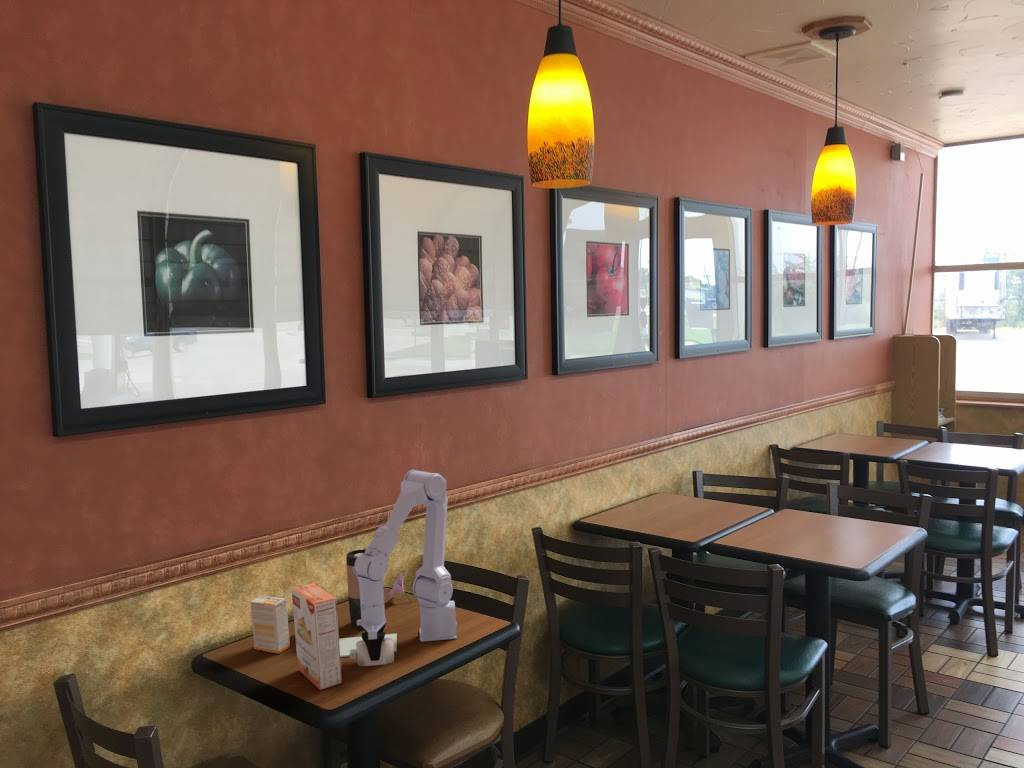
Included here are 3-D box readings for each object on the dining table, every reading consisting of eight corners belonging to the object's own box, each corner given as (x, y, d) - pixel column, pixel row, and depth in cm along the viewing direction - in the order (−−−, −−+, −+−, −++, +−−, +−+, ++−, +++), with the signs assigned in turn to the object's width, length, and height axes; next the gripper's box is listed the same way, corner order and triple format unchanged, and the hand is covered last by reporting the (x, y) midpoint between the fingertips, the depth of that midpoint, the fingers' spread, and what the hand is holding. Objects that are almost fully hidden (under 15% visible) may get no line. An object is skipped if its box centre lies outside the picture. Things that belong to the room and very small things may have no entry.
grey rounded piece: (394, 656, 206) (393, 637, 206) (394, 663, 202) (393, 643, 202) (351, 660, 205) (349, 641, 204) (350, 667, 201) (348, 647, 200)
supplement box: (291, 647, 215) (287, 598, 213) (278, 654, 210) (274, 604, 209) (266, 642, 218) (262, 594, 217) (253, 649, 214) (249, 600, 212)
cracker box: (296, 671, 200) (290, 587, 198) (319, 663, 204) (314, 581, 202) (318, 692, 189) (312, 603, 187) (343, 684, 192) (337, 597, 190)
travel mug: (384, 621, 229) (380, 551, 227) (365, 631, 223) (360, 559, 220) (363, 617, 233) (359, 547, 231) (344, 626, 227) (339, 555, 225)
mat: (396, 634, 220) (396, 633, 219) (396, 652, 209) (396, 650, 209) (335, 640, 218) (335, 638, 217) (331, 658, 207) (331, 656, 207)
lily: (411, 595, 252) (394, 568, 252) (432, 588, 244) (415, 561, 244) (384, 618, 244) (366, 591, 243) (405, 612, 236) (387, 584, 235)
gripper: (357, 593, 209) (360, 645, 210) (353, 615, 194) (357, 670, 196) (385, 591, 210) (388, 642, 211) (384, 612, 195) (387, 667, 197)
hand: (375, 656), depth 203 cm, fingers closed on grey rounded piece, 4 cm apart
